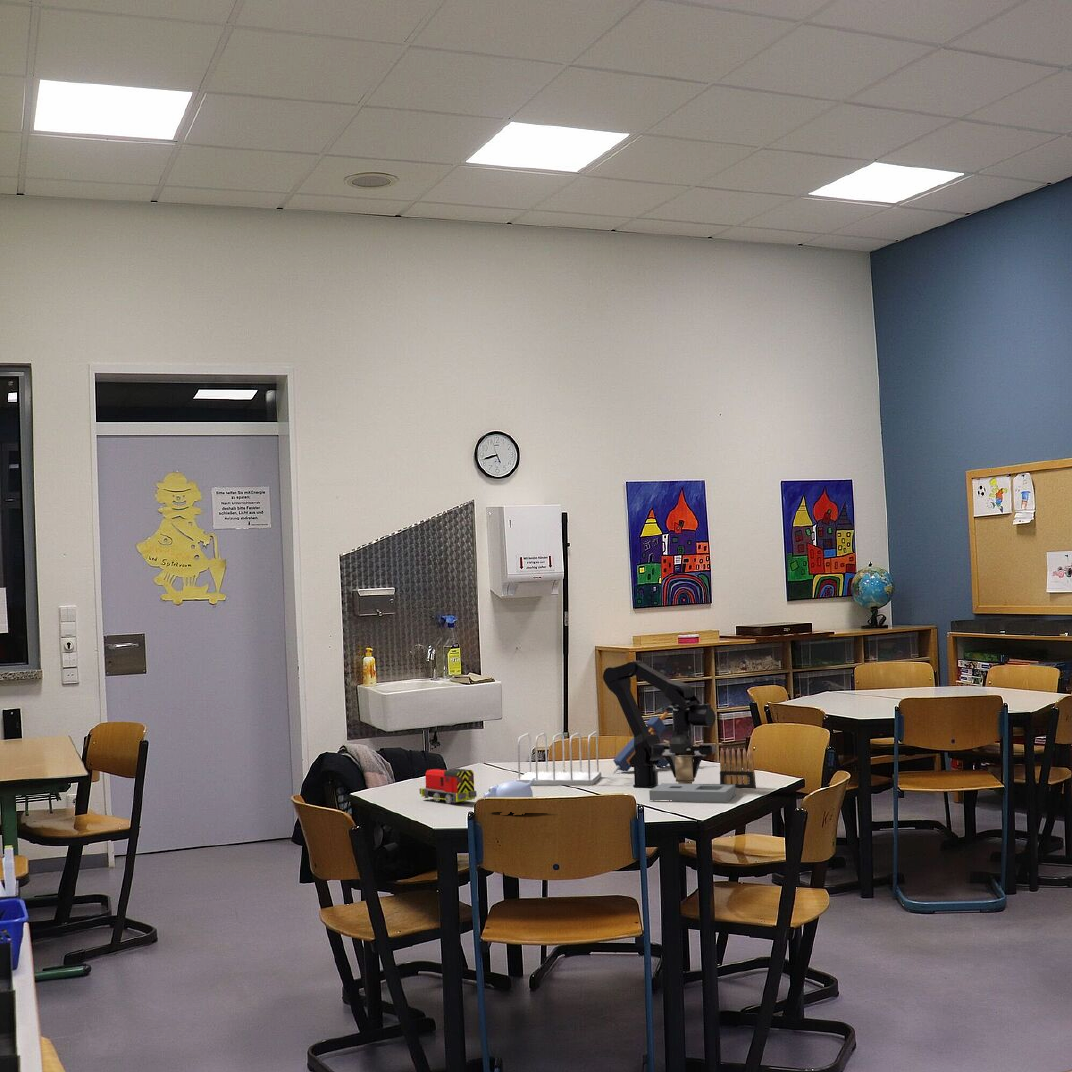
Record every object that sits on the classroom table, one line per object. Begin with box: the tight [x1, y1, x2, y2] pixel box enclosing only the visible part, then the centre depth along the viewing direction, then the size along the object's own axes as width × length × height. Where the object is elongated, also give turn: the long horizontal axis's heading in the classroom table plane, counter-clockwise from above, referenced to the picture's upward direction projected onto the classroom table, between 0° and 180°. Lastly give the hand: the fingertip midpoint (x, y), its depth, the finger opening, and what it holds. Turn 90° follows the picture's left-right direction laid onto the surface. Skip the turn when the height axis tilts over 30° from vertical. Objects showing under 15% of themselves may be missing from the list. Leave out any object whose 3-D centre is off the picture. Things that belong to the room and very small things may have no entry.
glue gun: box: [612, 711, 669, 775], centre depth 403 cm, size 6×31×15 cm
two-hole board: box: [649, 782, 737, 804], centre depth 339 cm, size 22×14×3 cm, turn 69°
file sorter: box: [515, 730, 602, 786], centre depth 383 cm, size 25×17×16 cm
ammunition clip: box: [719, 747, 757, 789], centre depth 355 cm, size 11×2×12 cm, turn 65°
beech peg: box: [675, 754, 695, 784], centre depth 355 cm, size 6×6×10 cm
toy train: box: [418, 767, 478, 804], centre depth 351 cm, size 7×19×10 cm, turn 43°
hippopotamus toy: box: [482, 778, 536, 799], centre depth 328 cm, size 11×15×10 cm
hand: (684, 777), depth 355 cm, fingers closed on beech peg, 6 cm apart
